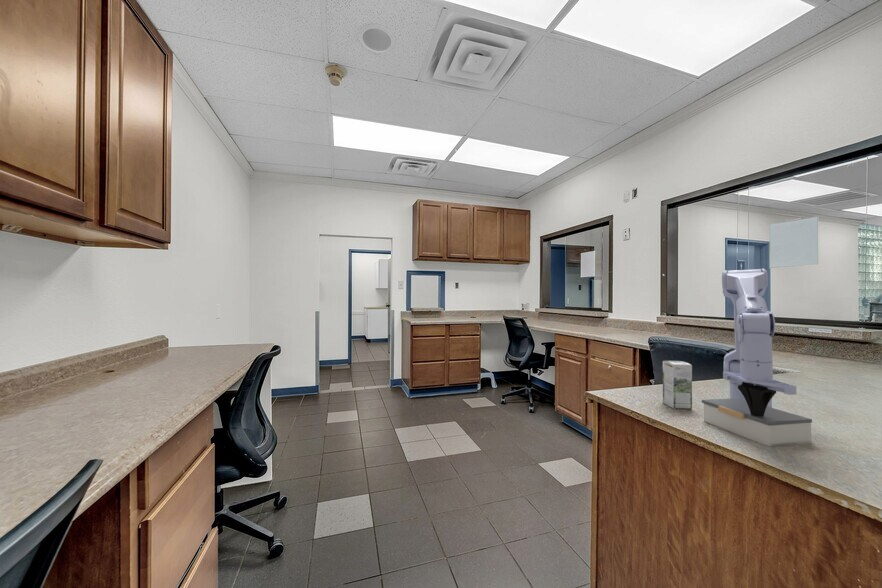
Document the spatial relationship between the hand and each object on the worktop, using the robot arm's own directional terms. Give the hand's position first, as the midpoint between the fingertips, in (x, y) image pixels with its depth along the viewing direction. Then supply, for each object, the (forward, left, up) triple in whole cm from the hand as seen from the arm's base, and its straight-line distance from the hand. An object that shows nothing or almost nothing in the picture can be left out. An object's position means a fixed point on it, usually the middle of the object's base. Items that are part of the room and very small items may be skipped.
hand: (757, 415), depth 78 cm
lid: (-4, -4, -2) cm, 6 cm away
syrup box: (-2, -24, -6) cm, 25 cm away
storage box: (-5, -4, -6) cm, 9 cm away
